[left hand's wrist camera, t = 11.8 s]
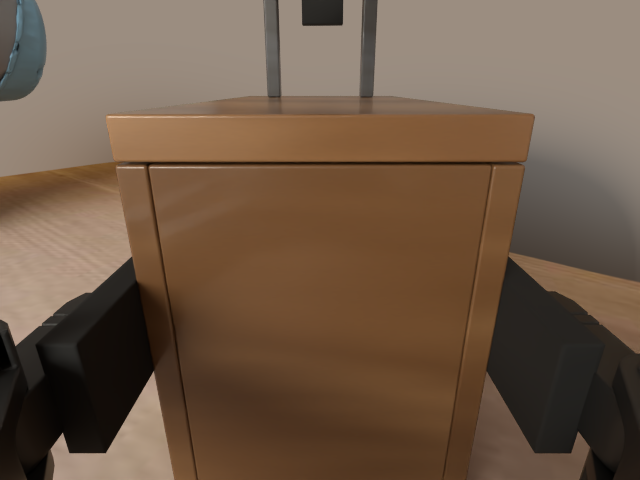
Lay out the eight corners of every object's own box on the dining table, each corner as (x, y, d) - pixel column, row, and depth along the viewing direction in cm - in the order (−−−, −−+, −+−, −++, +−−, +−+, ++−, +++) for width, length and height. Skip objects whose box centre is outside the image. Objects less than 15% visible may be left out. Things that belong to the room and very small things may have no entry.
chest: (257, 268, 28) (248, 114, 24) (382, 268, 28) (392, 114, 24) (177, 501, 12) (113, 165, 8) (462, 501, 12) (527, 165, 8)
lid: (250, 112, 25) (240, -41, 22) (390, 112, 25) (400, -41, 22) (112, 162, 8) (-1, -429, 5) (527, 162, 8) (640, -429, 5)
